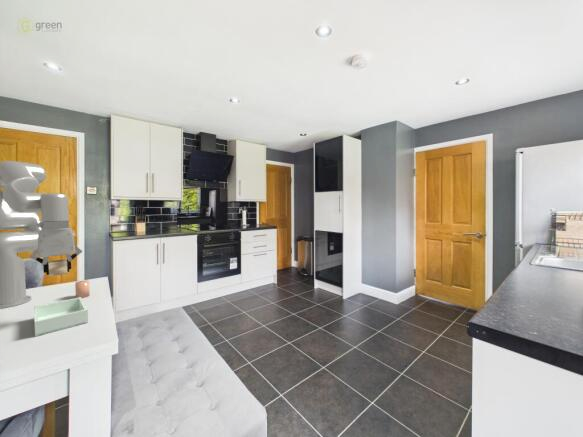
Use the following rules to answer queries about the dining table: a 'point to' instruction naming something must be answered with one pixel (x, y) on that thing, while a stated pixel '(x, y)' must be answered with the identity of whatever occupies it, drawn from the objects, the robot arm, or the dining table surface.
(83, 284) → the terracotta cylinder
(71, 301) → the tote
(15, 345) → the dining table surface
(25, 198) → the robot arm
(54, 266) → the wooden cube
